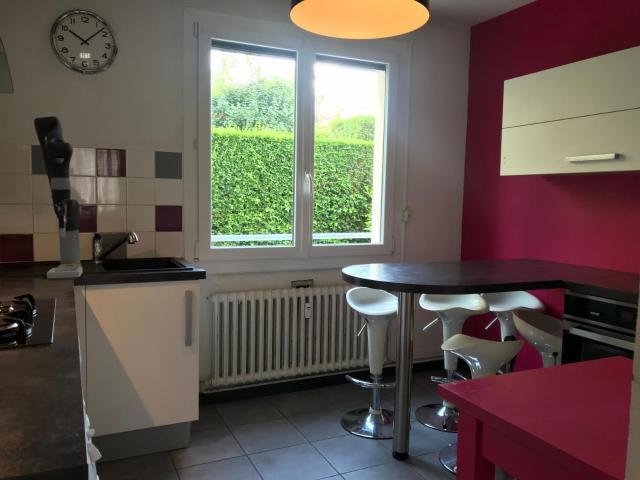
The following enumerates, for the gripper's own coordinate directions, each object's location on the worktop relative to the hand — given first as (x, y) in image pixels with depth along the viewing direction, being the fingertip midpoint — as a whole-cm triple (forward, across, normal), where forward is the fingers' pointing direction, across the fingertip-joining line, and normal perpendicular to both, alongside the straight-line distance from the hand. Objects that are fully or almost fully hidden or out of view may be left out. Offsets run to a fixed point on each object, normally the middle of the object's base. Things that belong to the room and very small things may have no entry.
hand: (62, 227), depth 231 cm
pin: (+4, 0, 0) cm, 4 cm away
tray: (+22, 0, +1) cm, 22 cm away
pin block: (+22, -12, 0) cm, 25 cm away
